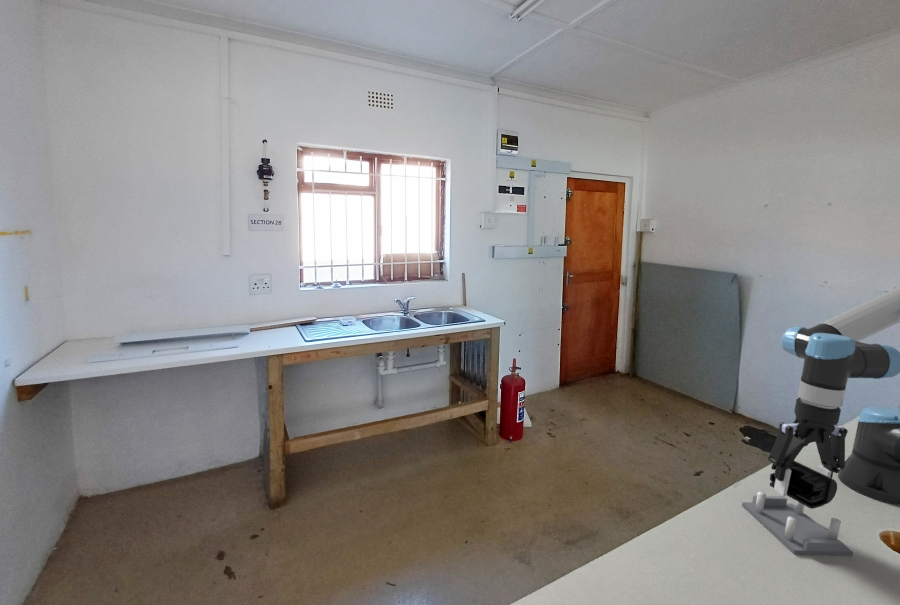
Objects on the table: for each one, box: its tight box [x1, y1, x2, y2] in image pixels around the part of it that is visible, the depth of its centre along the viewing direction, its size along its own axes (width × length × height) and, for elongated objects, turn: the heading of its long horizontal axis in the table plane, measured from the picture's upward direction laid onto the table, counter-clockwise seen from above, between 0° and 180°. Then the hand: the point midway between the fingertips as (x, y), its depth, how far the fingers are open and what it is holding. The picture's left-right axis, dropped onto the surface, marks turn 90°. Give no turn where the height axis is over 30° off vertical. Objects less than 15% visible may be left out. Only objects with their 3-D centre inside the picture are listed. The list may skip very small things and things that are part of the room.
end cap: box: [769, 460, 838, 510], centre depth 95 cm, size 10×7×7 cm
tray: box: [741, 491, 854, 557], centre depth 97 cm, size 13×16×6 cm
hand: (799, 493), depth 96 cm, fingers closed on end cap, 9 cm apart
